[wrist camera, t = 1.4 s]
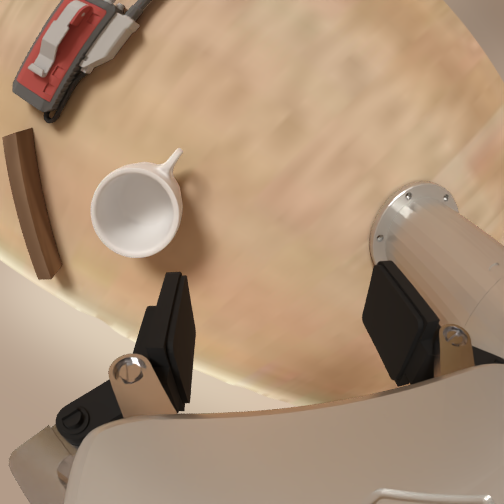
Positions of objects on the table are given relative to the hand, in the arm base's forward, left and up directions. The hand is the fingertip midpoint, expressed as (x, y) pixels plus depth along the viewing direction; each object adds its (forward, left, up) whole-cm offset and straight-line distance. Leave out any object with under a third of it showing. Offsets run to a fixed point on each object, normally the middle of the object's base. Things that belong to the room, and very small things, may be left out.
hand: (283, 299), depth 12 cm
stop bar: (+23, 0, -18) cm, 29 cm away
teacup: (+9, 0, -18) cm, 20 cm away
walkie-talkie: (+14, -17, -18) cm, 29 cm away
